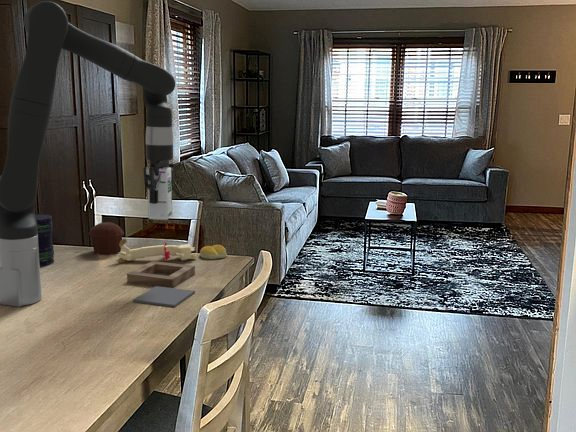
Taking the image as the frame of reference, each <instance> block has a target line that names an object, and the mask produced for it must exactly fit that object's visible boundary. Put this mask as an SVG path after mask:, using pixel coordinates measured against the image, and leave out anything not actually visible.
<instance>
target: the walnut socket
mask: <svg viewBox="0 0 576 432" xmlns="http://www.w3.org/2000/svg"><path fill="white" fill-rule="evenodd" d="M155 273H156V274H155ZM157 273H163V274H157ZM164 273H165V274H170V275H164ZM195 274H196V266H195V265H190V264H181V263H175V262H173V263H172V262H166V261H165V262H164V261H156V260H155V261H154V260H152V261H150V262H148V263H146V264H144V265H142V266H140V267H138V268H136V269H134V270H132V271H130V272H128V273H126V279H127V281H126V282H127V283H131V284H137V285H138V284H139V285H147V286H154V287H155V286H160V287H168V288H175V287H176V286H178V285H179V284H182V283H183V282H184V281H186V280H187V279H189V278H191V277H192V276H193V275H195Z"/></svg>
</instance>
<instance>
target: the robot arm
mask: <svg viewBox="0 0 576 432" xmlns="http://www.w3.org/2000/svg"><path fill="white" fill-rule="evenodd" d="M23 26H24V29H25V31H26V32H27V42H26V43H27V44H26V50H25V55H24V59H23V62H22V65H21V67H20V70H19V72H18V75H17V77H16V80H15V83H14V86H13V90H12V94H11V98H10V104H9V110H8V120H7V152H6V154H7V155H6V159H5V162H4V166H3V171H2V173H1V175H0V305H5V306H10V307H11V306H12V307H18V308H19V307H23V306H27V305H31V304H35V303H38V302H39V301H41V300H42V296H43V295H42V282H41V269H40V268H41V267H40V263H39V247H38V230H37V222H36V217H35V214H36V212H35V211H36V210H35V209H36V208H35V201H36V198H37V193H38V180H39V179H38V177H39V167H40V160H41V154H42V151H43V149H44V144H45V140H46V136H47V133H48V132H47V131H48V127H49V123H50V119H51V114H52V109H53V102H54V96H55V89H56V88H55V87H56V81H57V71H58V64H59V60H60V56H61V52H62V50H65V51H67V52H70V53H72V54H74V55H77V56H78V57H81V58H82V59H85V60H87V61H89V62H90V63H93V64H94V65H96V66H98V67H100V68H102V69H103V70H105V71H107V72H109V73H111V74H113V75H115V76H116V77H119V78H120V79H123V80H124V81H126V82H131V83H134V84H137V85H139V86H142V94H143V99H144V106H145V110H146V111H145V112H146V114H145V117H146V118H145V119H146V122H145V123H146V128H145V159H146V160H148V161H150V163H149V166H145V167H143V180H144V181H143V182H144V188H145V189H147V191H148V190H150V203H152V204H156V203H158V186H159V183H161V173H160V174H159V168H162V169H164V168H169V167H171V182H172V185H174V183H175V170H176V169H175V167H176V166H175V165H176V164H175V163H173V162H172V163H170V161H172V160H173V159H174V133H173V131H174V130H173V112H172V108H171V106H169V105H168V96H169V95H170V94H172V93H173V91H174V90H175V88H176V80H175V76H174V75H173V74H172V73H171V72H170V71H168V70H166V69H165V68H163V67H161V66H158V65H156V64H154V63H151V62H149V61H146V60H144V59H141V58H140V57H138V56H137V55H135V54H133V53H132V52H129V51H128V50H126V49H124V48H122V47H121V46H119V45H116V44H114V43H111V42H109V41H106V40H104V39H101V38H99V37H96V36H94V35H92V34H90V33H87V32H85V31H83V30H82V29H79V28H78V27H76V26H74V25H73V24H71V22H69V19H68V16H67V13H66V11H65V10H64V8H63V7H61V5H59V4H58V3H56V2H54V1H50V0H43V1H39V2H37V3H35V4H33V5H32V6H30V7H29V8H28V9H27V10H26V12H25V13H24V16H23ZM154 174H155V175H156V176H158V175H159V177H158V179H154ZM149 175H150V176H149ZM148 181H149V184H148ZM154 182H155V183H154Z"/></svg>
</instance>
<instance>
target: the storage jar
mask: <svg viewBox="0 0 576 432" xmlns="http://www.w3.org/2000/svg"><path fill="white" fill-rule="evenodd" d="M52 216H53V215H51V214H47V213H35V217H36V222H37V230H38V247H39V263H40V268H41V267H46V266H51V265H53V264H54V263H55V259H54V258H55V257H54V256H55V250H54V244H53V220H52V218H53V217H52ZM50 264H51V265H50Z"/></svg>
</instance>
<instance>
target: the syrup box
mask: <svg viewBox="0 0 576 432" xmlns="http://www.w3.org/2000/svg"><path fill="white" fill-rule="evenodd" d="M160 173H161V183H159V186H158V203H156V204H152V203H150V190H148V189H147V214H148V215H147V216H148V220H159V221H161V220H163V221H168V220H169V219H170V218H171V217H173V190H172V189H173V188H172V187H173V186H172V185H173V184H172V182H171V167H169V168H164V169H162V168H159V174H160ZM149 176H150V175H149ZM158 177H159V175H158V176H156V175H155V174H154V179H158ZM154 183H155V182H154ZM148 184H149V181H148Z"/></svg>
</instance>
